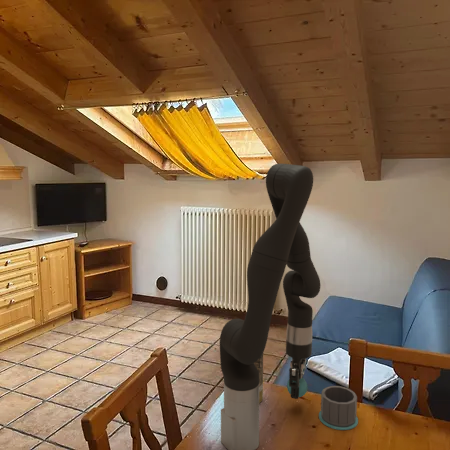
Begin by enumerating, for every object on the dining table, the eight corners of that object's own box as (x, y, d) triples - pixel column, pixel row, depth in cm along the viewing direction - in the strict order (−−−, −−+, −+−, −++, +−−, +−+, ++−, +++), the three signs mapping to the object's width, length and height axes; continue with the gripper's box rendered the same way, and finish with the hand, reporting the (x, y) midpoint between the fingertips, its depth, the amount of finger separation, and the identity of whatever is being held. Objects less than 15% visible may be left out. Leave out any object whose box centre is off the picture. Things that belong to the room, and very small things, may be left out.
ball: (295, 403, 124) (296, 384, 123) (282, 393, 129) (283, 375, 128) (311, 397, 127) (312, 378, 126) (297, 388, 132) (298, 370, 131)
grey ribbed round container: (338, 434, 117) (339, 409, 116) (310, 414, 126) (311, 391, 125) (366, 422, 122) (367, 398, 121) (338, 403, 132) (339, 381, 130)
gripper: (307, 350, 117) (305, 407, 120) (315, 331, 131) (313, 383, 133) (281, 346, 120) (278, 402, 122) (291, 328, 133) (289, 379, 136)
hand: (296, 392), depth 128 cm, fingers closed on ball, 6 cm apart
